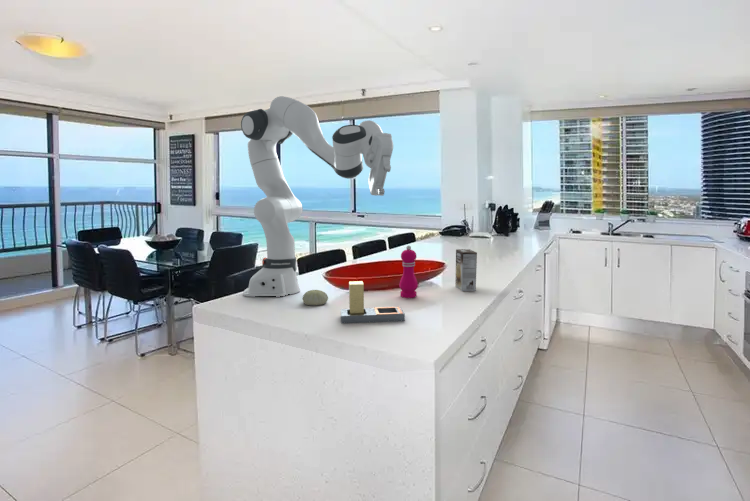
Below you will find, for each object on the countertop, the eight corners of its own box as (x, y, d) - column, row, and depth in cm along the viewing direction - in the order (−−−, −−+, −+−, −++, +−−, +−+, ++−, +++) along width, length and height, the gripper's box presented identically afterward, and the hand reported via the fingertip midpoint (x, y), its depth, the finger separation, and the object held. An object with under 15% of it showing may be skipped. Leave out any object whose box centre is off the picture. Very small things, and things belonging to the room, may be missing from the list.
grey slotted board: (341, 323, 136) (341, 315, 136) (340, 316, 144) (340, 308, 143) (404, 321, 138) (404, 313, 138) (400, 314, 146) (400, 306, 145)
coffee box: (454, 286, 187) (455, 249, 184) (469, 286, 187) (470, 248, 185) (461, 291, 178) (462, 252, 176) (476, 290, 178) (477, 251, 176)
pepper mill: (416, 298, 166) (417, 246, 163) (397, 298, 167) (398, 246, 165) (418, 294, 173) (419, 244, 170) (400, 293, 174) (400, 244, 172)
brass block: (350, 321, 138) (349, 284, 136) (349, 317, 142) (349, 281, 141) (364, 321, 138) (363, 284, 137) (362, 317, 143) (362, 281, 141)
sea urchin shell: (323, 302, 154) (308, 285, 155) (309, 316, 157) (295, 300, 158) (334, 296, 163) (320, 280, 164) (321, 309, 165) (307, 294, 166)
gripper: (362, 179, 150) (369, 207, 141) (373, 128, 136) (381, 154, 127) (379, 180, 152) (387, 207, 143) (392, 129, 137) (401, 155, 128)
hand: (384, 182), depth 135 cm, fingers open, 8 cm apart
